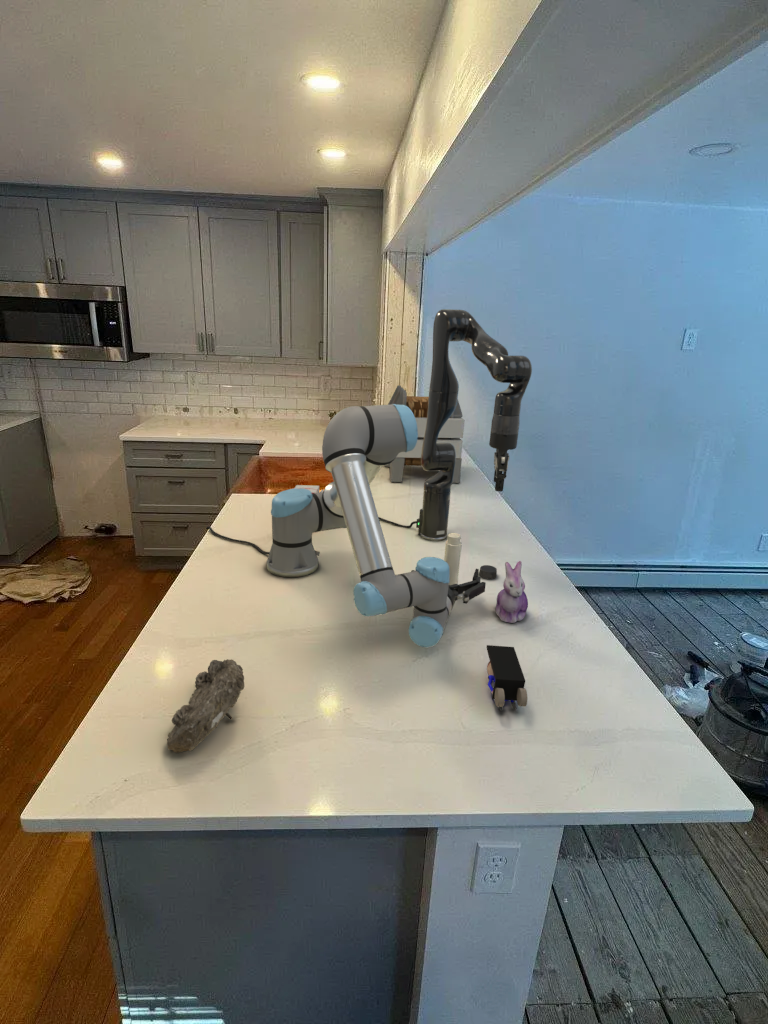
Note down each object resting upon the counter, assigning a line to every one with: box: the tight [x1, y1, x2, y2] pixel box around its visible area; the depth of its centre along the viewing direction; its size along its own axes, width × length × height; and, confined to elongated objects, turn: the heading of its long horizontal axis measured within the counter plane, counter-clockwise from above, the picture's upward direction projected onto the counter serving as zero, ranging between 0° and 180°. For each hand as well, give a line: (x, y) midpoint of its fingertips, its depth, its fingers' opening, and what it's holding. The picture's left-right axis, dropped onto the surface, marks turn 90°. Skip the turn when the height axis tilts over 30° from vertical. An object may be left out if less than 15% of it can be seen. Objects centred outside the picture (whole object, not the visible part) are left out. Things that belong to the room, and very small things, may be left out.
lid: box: [478, 564, 498, 580], centre depth 171 cm, size 5×5×2 cm
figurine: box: [495, 560, 529, 624], centre depth 147 cm, size 9×10×15 cm
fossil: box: [166, 658, 245, 754], centre depth 106 cm, size 22×10×15 cm
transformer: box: [384, 384, 465, 484], centre depth 268 cm, size 34×33×41 cm
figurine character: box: [485, 644, 528, 712], centre depth 117 cm, size 7×8×15 cm
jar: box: [443, 532, 462, 585], centre depth 156 cm, size 4×4×18 cm
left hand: (452, 569), depth 159 cm, fingers open, 13 cm apart
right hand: (498, 486), depth 162 cm, fingers open, 8 cm apart
